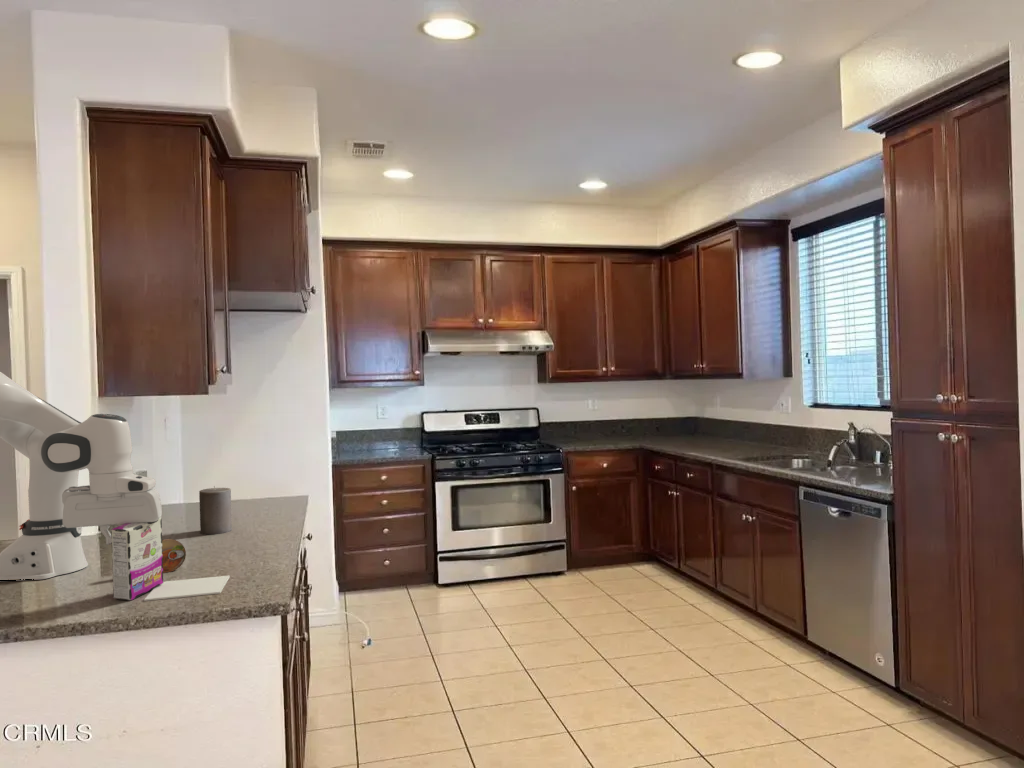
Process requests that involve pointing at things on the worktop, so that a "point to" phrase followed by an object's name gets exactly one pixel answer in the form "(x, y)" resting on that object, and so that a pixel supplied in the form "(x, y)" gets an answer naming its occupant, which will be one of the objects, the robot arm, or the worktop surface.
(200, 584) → the mat
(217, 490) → the pillar candle
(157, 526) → the candy bar box
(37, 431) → the robot arm
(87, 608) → the worktop surface
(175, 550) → the tin
